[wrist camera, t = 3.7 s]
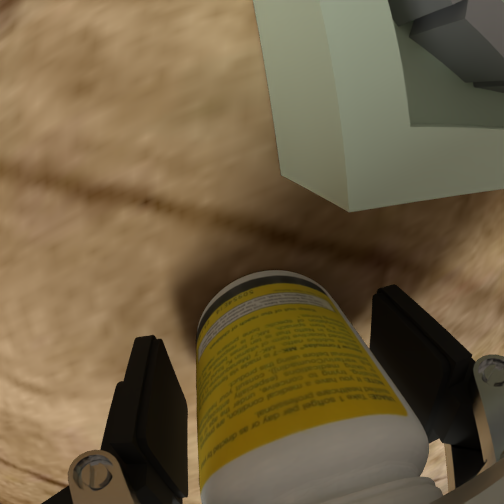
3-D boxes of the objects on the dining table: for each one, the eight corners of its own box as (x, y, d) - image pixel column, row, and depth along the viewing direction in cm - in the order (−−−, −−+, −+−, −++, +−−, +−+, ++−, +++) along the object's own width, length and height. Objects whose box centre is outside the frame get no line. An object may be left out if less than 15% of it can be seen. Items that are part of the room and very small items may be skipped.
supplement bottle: (166, 332, 10) (147, 606, 2) (277, 234, 9) (463, 518, 2) (261, 401, 12) (313, 603, 4) (359, 327, 11) (491, 518, 3)
